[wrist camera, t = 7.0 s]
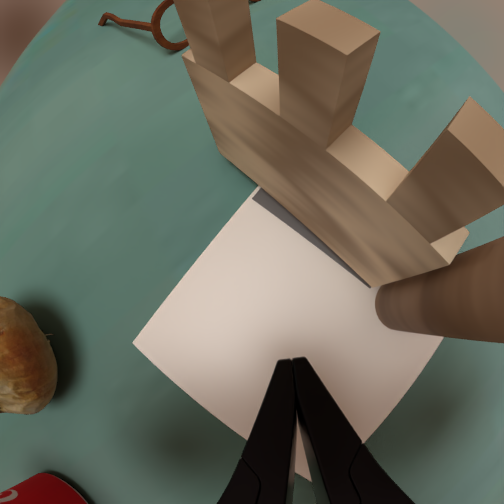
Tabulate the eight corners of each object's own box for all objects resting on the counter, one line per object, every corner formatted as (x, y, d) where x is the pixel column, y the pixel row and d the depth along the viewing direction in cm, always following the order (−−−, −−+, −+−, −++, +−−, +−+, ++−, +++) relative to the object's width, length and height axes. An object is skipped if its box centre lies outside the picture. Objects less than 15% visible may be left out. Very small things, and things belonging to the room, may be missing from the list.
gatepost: (430, 296, 15) (655, 248, 2) (401, 342, 14) (634, 382, 1) (391, 263, 15) (606, 142, 2) (360, 310, 15) (598, 287, 2)
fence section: (387, 269, 14) (552, 188, 4) (372, 287, 14) (539, 232, 3) (235, 138, 16) (184, -40, 6) (219, 152, 16) (150, -22, 5)
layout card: (469, 285, 15) (473, 284, 14) (319, 483, 13) (319, 486, 13) (294, 147, 17) (294, 143, 17) (135, 342, 16) (131, 343, 15)
